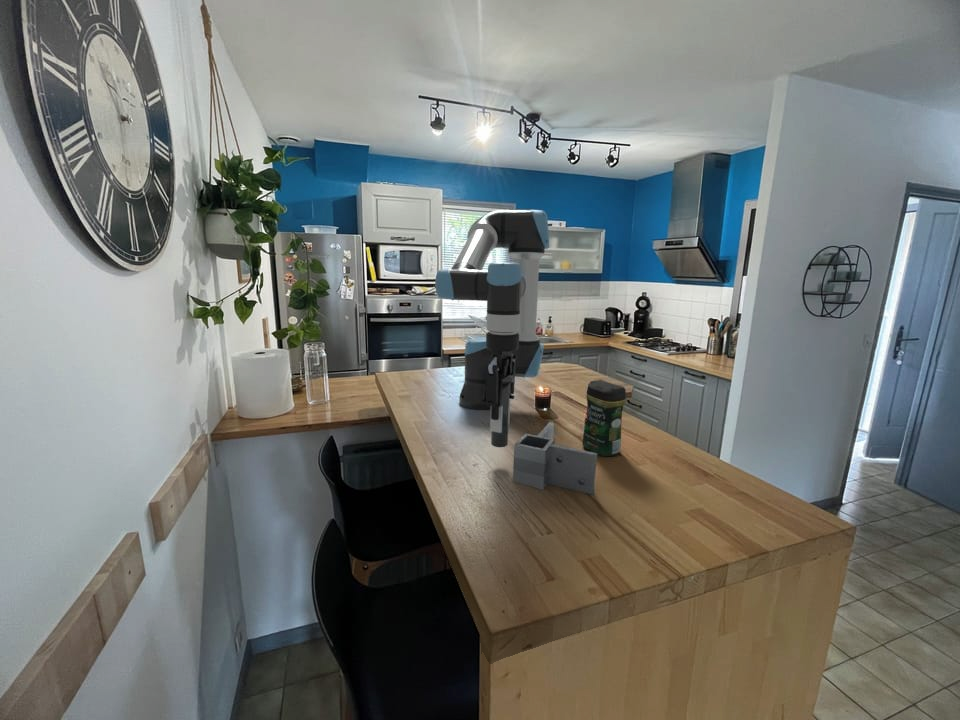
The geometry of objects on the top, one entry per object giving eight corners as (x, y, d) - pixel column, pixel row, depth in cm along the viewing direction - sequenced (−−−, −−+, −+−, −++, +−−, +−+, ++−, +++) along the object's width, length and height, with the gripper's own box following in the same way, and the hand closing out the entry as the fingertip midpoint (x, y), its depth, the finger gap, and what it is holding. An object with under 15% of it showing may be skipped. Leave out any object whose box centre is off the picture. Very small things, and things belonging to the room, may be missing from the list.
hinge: (536, 452, 107) (538, 420, 105) (604, 467, 100) (607, 432, 98) (512, 482, 92) (514, 444, 90) (590, 501, 85) (593, 461, 83)
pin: (493, 437, 104) (495, 371, 100) (514, 441, 102) (516, 374, 98) (484, 445, 99) (485, 376, 95) (505, 450, 97) (508, 380, 93)
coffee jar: (576, 446, 112) (581, 379, 108) (597, 440, 116) (603, 376, 112) (604, 460, 104) (610, 389, 100) (625, 453, 108) (632, 385, 104)
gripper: (502, 325, 103) (499, 413, 109) (471, 336, 88) (469, 437, 94) (530, 328, 100) (526, 418, 105) (503, 339, 85) (500, 444, 90)
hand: (499, 427), depth 100 cm, fingers closed on pin, 4 cm apart
